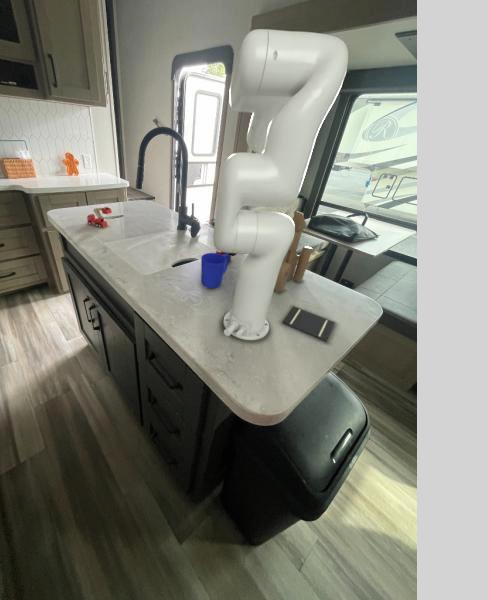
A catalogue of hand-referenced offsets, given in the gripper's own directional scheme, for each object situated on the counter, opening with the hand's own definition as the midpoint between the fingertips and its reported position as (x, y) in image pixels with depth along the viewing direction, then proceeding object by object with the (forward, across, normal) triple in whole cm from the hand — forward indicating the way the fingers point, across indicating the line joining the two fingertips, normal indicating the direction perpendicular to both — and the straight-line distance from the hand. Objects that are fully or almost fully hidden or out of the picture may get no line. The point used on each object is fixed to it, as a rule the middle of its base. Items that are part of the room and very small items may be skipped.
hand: (232, 254), depth 103 cm
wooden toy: (+4, +21, +1) cm, 22 cm away
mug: (+4, +2, -16) cm, 17 cm away
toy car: (+2, -4, 0) cm, 4 cm away
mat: (+4, +35, -17) cm, 39 cm away
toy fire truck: (+5, -69, -8) cm, 69 cm away
